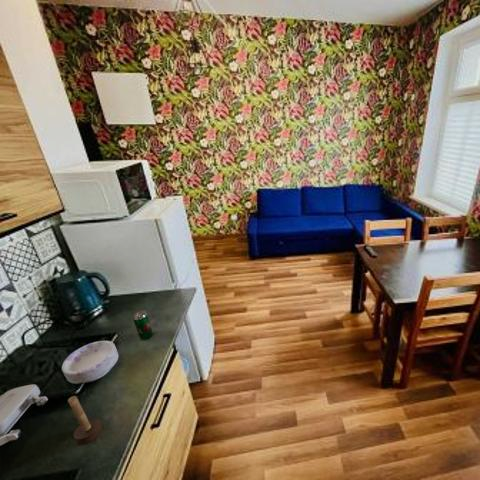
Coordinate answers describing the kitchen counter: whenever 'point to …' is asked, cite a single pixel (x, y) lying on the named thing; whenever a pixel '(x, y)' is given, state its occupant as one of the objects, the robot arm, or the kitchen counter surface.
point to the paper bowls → (90, 362)
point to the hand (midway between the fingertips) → (32, 416)
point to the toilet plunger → (84, 424)
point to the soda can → (143, 325)
